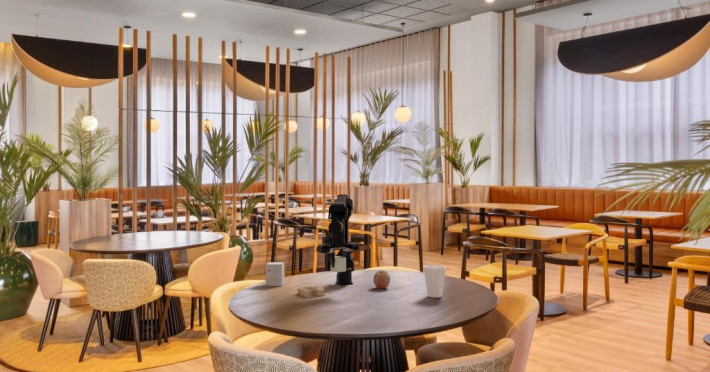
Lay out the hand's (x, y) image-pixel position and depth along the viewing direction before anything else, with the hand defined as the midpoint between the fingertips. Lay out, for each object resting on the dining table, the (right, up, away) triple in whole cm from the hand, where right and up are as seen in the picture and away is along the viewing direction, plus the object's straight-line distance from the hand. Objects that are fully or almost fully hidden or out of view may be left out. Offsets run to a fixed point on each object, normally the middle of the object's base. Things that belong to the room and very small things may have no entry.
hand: (338, 267), depth 258 cm
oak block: (-12, -13, 0) cm, 17 cm away
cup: (+42, -12, -5) cm, 44 cm away
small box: (-31, -12, +22) cm, 39 cm away
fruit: (+20, -12, +13) cm, 27 cm away
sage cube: (0, -2, 0) cm, 2 cm away
